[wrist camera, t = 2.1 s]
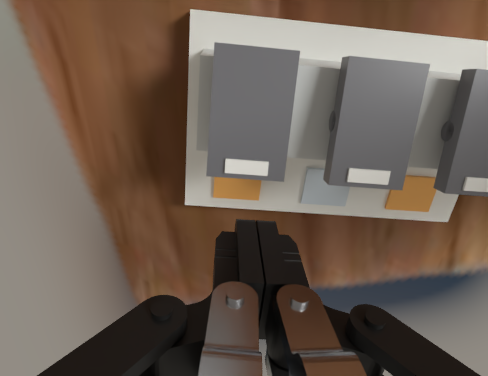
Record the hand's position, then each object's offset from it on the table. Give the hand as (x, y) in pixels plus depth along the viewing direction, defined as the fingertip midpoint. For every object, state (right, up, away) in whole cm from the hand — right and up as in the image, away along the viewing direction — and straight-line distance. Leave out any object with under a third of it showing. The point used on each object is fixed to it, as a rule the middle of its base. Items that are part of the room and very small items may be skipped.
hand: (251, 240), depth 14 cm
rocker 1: (0, +6, +7) cm, 9 cm away
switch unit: (+7, +7, +14) cm, 17 cm away
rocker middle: (+7, +6, +7) cm, 12 cm away
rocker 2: (+14, +5, +8) cm, 17 cm away
